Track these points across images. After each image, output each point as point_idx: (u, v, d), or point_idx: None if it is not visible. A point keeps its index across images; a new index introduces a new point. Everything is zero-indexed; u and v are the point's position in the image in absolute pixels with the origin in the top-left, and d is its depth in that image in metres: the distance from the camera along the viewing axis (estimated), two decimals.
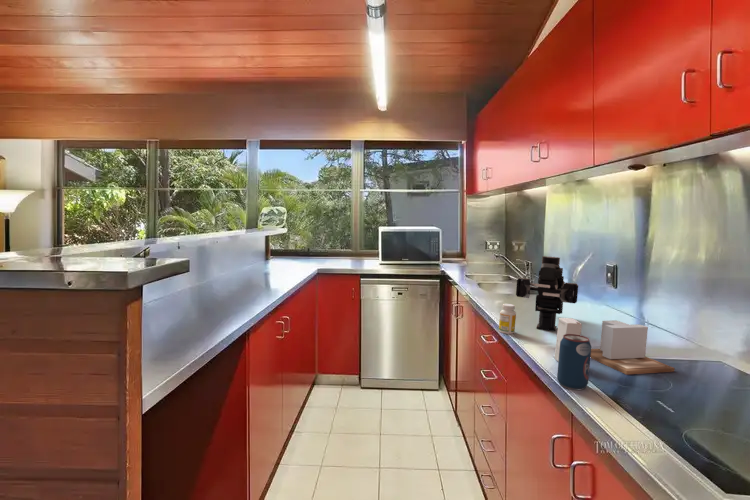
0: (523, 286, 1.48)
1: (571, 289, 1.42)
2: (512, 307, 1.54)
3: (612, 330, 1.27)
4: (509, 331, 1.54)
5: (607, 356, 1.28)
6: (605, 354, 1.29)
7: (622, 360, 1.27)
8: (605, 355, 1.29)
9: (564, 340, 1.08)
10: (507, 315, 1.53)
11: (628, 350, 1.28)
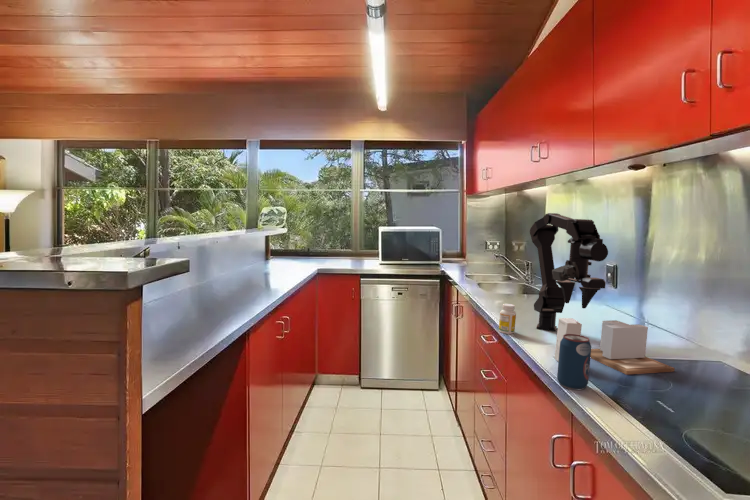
0: None
1: (588, 289, 1.39)
2: (512, 307, 1.54)
3: (612, 330, 1.27)
4: (509, 331, 1.54)
5: (607, 356, 1.28)
6: (605, 354, 1.29)
7: (622, 360, 1.27)
8: (605, 355, 1.29)
9: (564, 340, 1.08)
10: (507, 315, 1.53)
11: (628, 350, 1.28)
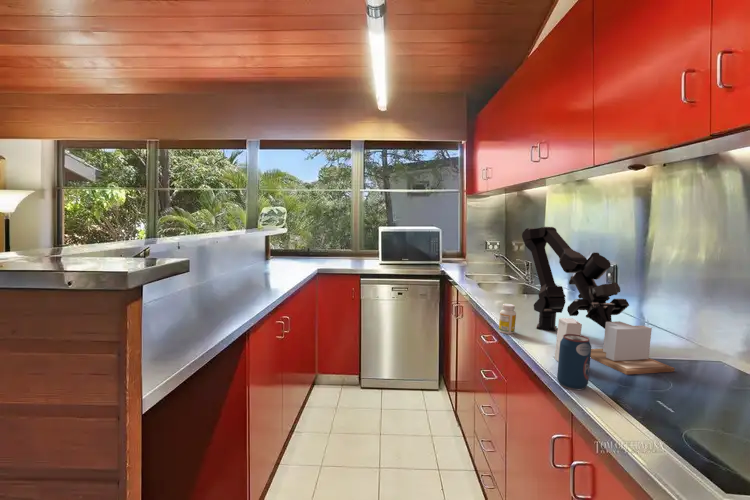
0: (595, 311, 1.37)
1: (611, 310, 1.38)
2: (512, 307, 1.54)
3: (615, 331, 1.25)
4: (509, 331, 1.54)
5: (611, 357, 1.27)
6: (609, 355, 1.27)
7: (622, 360, 1.27)
8: (608, 356, 1.27)
9: (564, 340, 1.08)
10: (507, 315, 1.53)
11: (631, 351, 1.27)
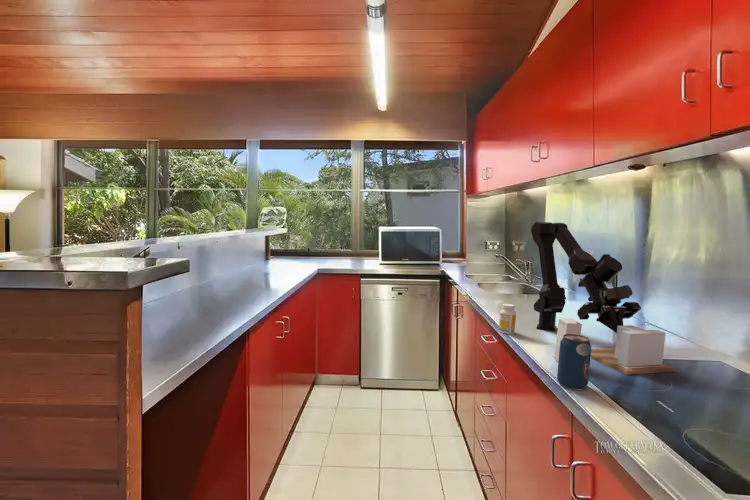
0: (606, 315, 1.33)
1: None
2: (512, 307, 1.54)
3: (628, 336, 1.21)
4: (509, 331, 1.54)
5: (623, 363, 1.22)
6: (621, 361, 1.23)
7: None
8: (621, 362, 1.23)
9: (564, 340, 1.08)
10: (507, 315, 1.53)
11: (645, 356, 1.23)
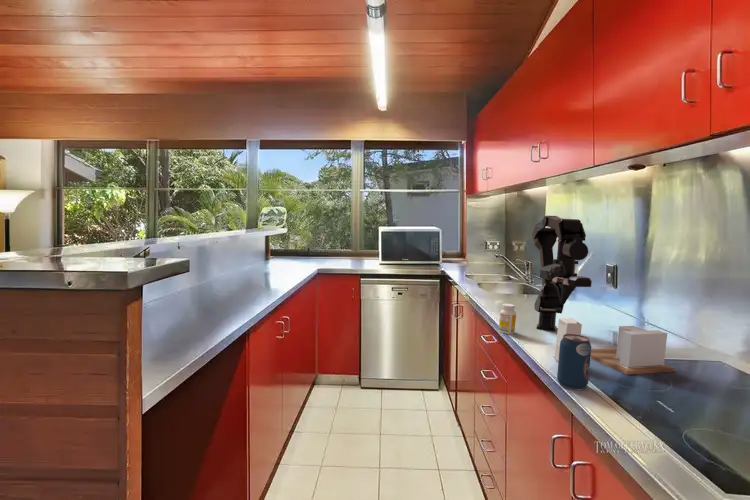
0: None
1: None
2: (512, 307, 1.54)
3: (630, 336, 1.20)
4: (509, 331, 1.54)
5: (625, 363, 1.22)
6: (623, 361, 1.22)
7: None
8: (622, 363, 1.23)
9: (564, 340, 1.08)
10: (507, 315, 1.53)
11: (646, 357, 1.22)
